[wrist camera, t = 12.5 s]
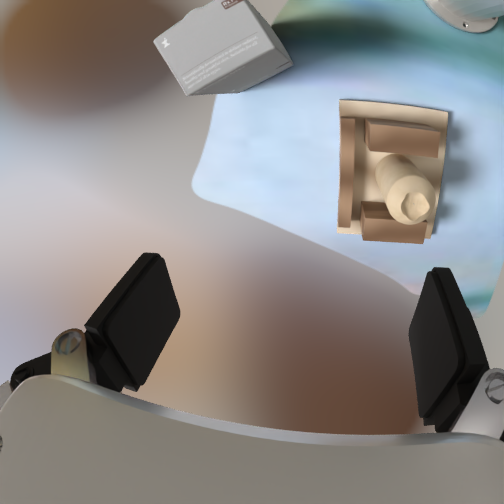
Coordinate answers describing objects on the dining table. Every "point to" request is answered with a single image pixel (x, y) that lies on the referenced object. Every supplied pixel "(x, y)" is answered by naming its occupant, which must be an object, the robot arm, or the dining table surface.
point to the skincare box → (222, 49)
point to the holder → (369, 155)
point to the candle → (405, 189)
